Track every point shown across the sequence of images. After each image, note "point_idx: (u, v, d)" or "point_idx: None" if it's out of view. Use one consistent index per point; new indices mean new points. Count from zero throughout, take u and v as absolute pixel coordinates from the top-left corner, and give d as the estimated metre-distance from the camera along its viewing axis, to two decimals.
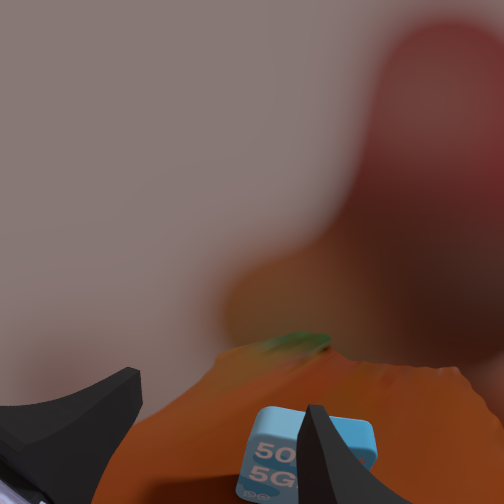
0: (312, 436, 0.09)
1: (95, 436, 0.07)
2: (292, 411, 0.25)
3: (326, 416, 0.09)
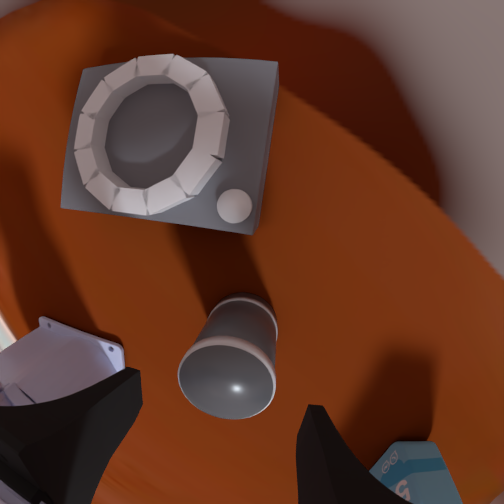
0: (312, 436, 0.09)
1: (95, 436, 0.07)
2: None
3: (326, 416, 0.09)
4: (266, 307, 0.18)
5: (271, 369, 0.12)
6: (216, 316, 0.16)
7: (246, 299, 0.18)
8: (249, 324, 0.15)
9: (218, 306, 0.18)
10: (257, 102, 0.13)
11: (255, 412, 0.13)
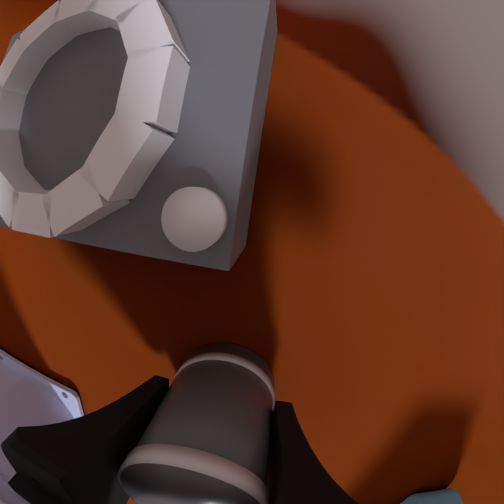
0: (275, 432, 0.09)
1: (128, 450, 0.07)
2: None
3: (291, 413, 0.09)
4: (258, 368, 0.11)
5: (260, 495, 0.06)
6: (178, 390, 0.09)
7: (228, 357, 0.11)
8: (227, 413, 0.08)
9: (186, 366, 0.11)
10: (239, 37, 0.06)
11: None
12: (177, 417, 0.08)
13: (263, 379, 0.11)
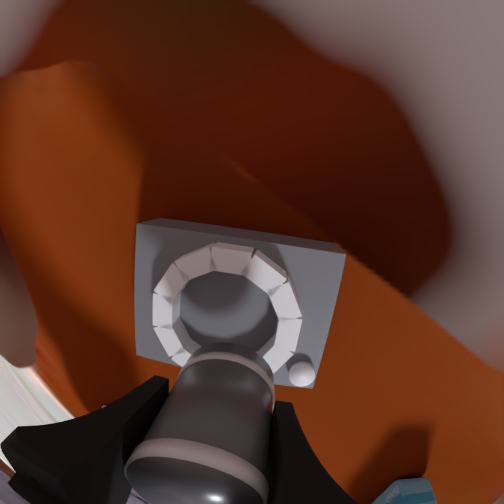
0: (275, 432, 0.09)
1: (128, 450, 0.07)
2: None
3: (291, 413, 0.09)
4: (254, 363, 0.12)
5: (256, 484, 0.06)
6: (178, 390, 0.10)
7: (224, 355, 0.12)
8: (222, 407, 0.09)
9: (186, 367, 0.12)
10: (325, 295, 0.16)
11: None
12: (175, 413, 0.08)
13: (260, 374, 0.11)
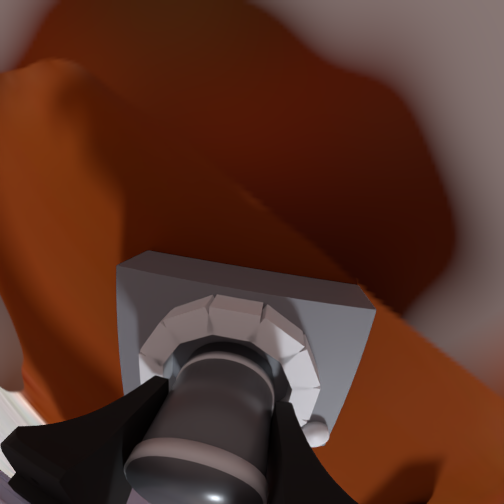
0: (275, 432, 0.09)
1: (128, 450, 0.07)
2: None
3: (291, 413, 0.09)
4: (254, 363, 0.12)
5: (256, 483, 0.06)
6: (177, 389, 0.10)
7: (224, 355, 0.12)
8: (222, 407, 0.09)
9: (185, 367, 0.12)
10: (348, 355, 0.13)
11: None
12: (175, 413, 0.08)
13: (259, 373, 0.11)
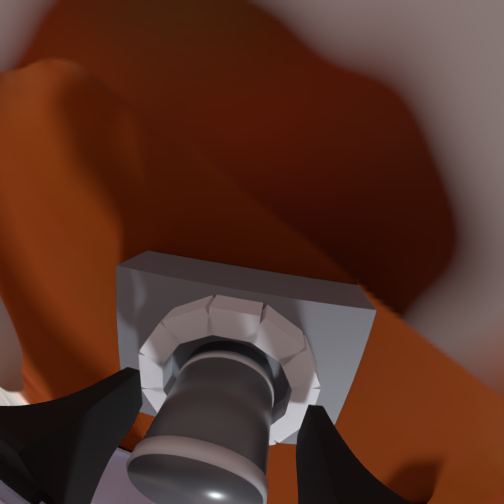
0: (312, 436, 0.09)
1: (95, 436, 0.07)
2: None
3: (326, 416, 0.09)
4: (254, 361, 0.12)
5: (256, 480, 0.06)
6: (178, 388, 0.10)
7: (224, 354, 0.12)
8: (222, 405, 0.09)
9: (186, 365, 0.12)
10: (348, 356, 0.12)
11: None
12: (176, 411, 0.08)
13: (259, 372, 0.12)
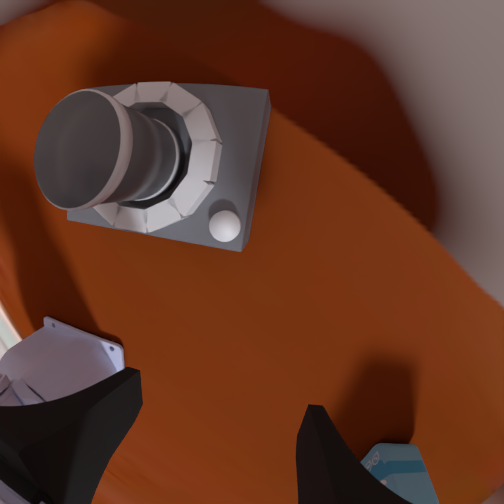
0: (312, 436, 0.09)
1: (95, 436, 0.07)
2: None
3: (326, 416, 0.09)
4: (165, 125, 0.14)
5: (119, 108, 0.08)
6: None
7: None
8: None
9: None
10: (248, 129, 0.15)
11: (102, 182, 0.09)
12: None
13: (167, 127, 0.14)
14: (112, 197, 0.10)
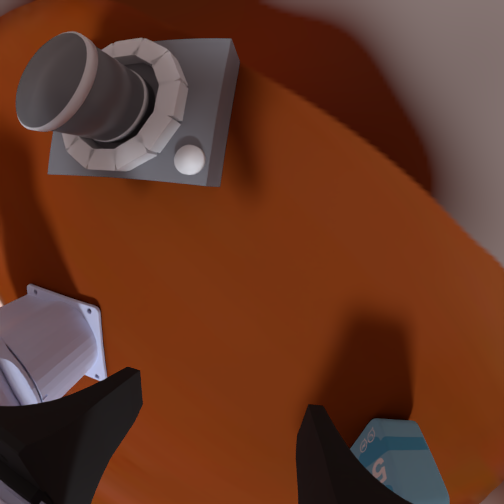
0: (312, 436, 0.09)
1: (95, 436, 0.07)
2: None
3: (326, 416, 0.09)
4: (137, 74, 0.13)
5: (88, 41, 0.08)
6: None
7: None
8: None
9: None
10: (212, 72, 0.14)
11: (67, 98, 0.08)
12: None
13: (137, 75, 0.13)
14: (78, 119, 0.10)
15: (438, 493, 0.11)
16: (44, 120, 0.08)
